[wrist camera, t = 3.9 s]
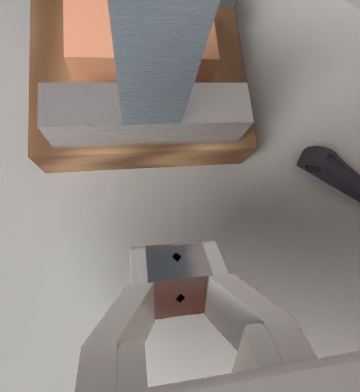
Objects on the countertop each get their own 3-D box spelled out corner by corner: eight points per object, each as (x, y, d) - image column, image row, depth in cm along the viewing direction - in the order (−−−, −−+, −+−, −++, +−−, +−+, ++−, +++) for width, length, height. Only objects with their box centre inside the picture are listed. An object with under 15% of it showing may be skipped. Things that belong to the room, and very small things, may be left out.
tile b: (152, 79, 18) (153, 58, 16) (147, 28, 19) (148, 1, 17) (211, 79, 19) (219, 59, 17) (204, 30, 19) (211, 4, 18)
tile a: (72, 79, 17) (63, 56, 15) (71, 25, 18) (63, -3, 16) (136, 79, 18) (136, 58, 16) (132, 27, 19) (132, 1, 17)
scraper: (54, 149, 16) (-243, -237, 4) (54, 111, 16) (-208, -345, 4) (236, 142, 18) (463, -129, 5) (231, 109, 18) (428, -213, 6)
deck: (45, 172, 19) (28, 156, 16) (45, 34, 21) (30, -2, 18) (241, 163, 21) (257, 147, 18) (222, 39, 23) (234, 8, 20)
